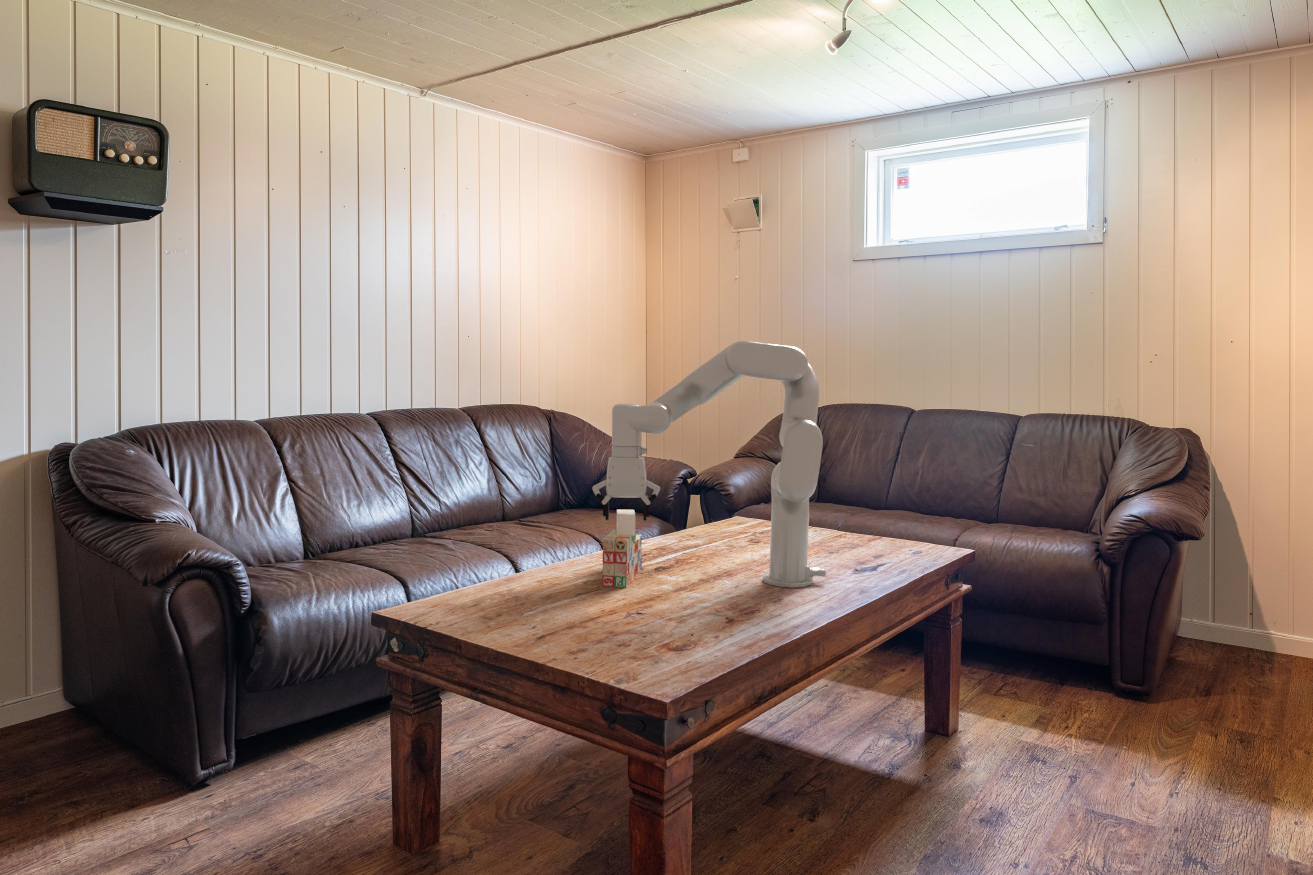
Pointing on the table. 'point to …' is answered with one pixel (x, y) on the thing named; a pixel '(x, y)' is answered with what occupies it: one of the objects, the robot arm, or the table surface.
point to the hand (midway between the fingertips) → (626, 519)
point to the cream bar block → (625, 522)
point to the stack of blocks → (621, 559)
